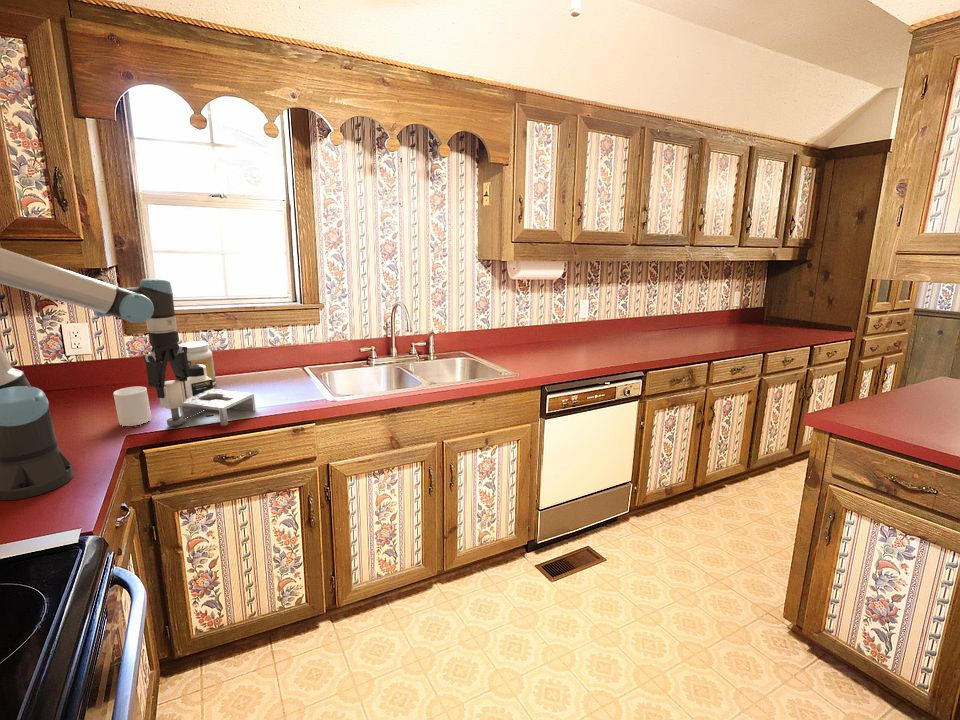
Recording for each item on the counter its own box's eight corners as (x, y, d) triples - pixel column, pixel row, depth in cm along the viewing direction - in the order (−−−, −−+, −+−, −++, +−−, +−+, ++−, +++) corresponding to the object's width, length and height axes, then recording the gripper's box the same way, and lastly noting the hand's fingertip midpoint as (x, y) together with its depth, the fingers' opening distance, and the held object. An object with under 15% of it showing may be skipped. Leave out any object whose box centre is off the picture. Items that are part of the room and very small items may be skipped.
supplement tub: (180, 393, 185) (173, 349, 180) (181, 384, 195) (174, 342, 190) (217, 388, 190) (211, 346, 186) (215, 380, 201) (210, 339, 196)
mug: (152, 412, 167) (146, 381, 164) (152, 424, 157) (146, 392, 154) (120, 417, 162) (114, 386, 160) (118, 429, 153) (112, 397, 150)
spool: (176, 426, 153) (170, 386, 149) (162, 424, 154) (156, 384, 151) (190, 420, 158) (184, 381, 154) (176, 418, 159) (171, 379, 156)
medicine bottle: (193, 402, 177) (188, 369, 173) (186, 397, 181) (181, 365, 178) (214, 397, 182) (210, 365, 178) (207, 392, 186) (203, 361, 183)
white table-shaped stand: (224, 425, 156) (222, 407, 155) (181, 419, 161) (178, 402, 159) (255, 410, 169) (253, 393, 168) (214, 404, 174) (212, 388, 172)
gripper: (145, 337, 139) (157, 415, 145) (197, 326, 156) (206, 396, 162) (124, 335, 141) (137, 412, 147) (178, 324, 158) (188, 393, 164)
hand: (173, 403), depth 154 cm, fingers closed on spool, 5 cm apart
